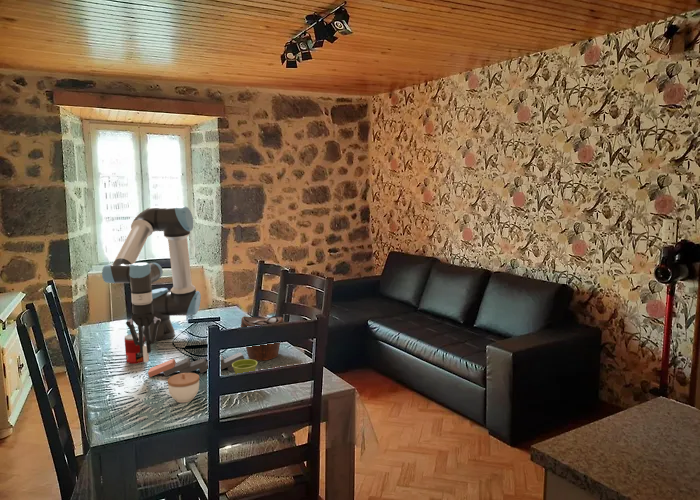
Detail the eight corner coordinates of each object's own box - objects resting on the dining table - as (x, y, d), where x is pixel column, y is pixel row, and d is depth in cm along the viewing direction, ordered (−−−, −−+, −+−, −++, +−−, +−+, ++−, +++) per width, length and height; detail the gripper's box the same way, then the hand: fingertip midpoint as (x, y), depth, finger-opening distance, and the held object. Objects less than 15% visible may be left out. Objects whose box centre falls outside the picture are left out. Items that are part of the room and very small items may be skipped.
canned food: (139, 364, 222) (137, 339, 220) (122, 363, 223) (120, 338, 222) (149, 358, 229) (148, 333, 228) (133, 357, 231) (131, 332, 229)
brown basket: (295, 354, 232) (293, 314, 230) (258, 366, 218) (256, 324, 215) (269, 346, 244) (267, 308, 242) (233, 357, 230) (230, 317, 227)
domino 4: (198, 365, 215) (222, 355, 218) (200, 369, 215) (223, 359, 218) (198, 368, 210) (223, 359, 213) (200, 373, 211) (224, 363, 213)
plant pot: (236, 392, 192) (235, 369, 191) (230, 383, 201) (229, 361, 199) (261, 387, 197) (260, 365, 195) (254, 379, 205) (253, 357, 204)
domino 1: (150, 368, 212) (174, 358, 213) (152, 372, 213) (176, 362, 214) (147, 372, 207) (172, 362, 208) (149, 377, 208) (174, 367, 209)
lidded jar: (170, 407, 181) (168, 381, 179) (167, 395, 190) (165, 371, 189) (202, 402, 185) (201, 376, 183) (198, 390, 194) (196, 366, 193)
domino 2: (165, 367, 213) (188, 357, 214) (167, 371, 214) (190, 361, 215) (163, 371, 208) (187, 361, 209) (165, 376, 209) (189, 366, 210)
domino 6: (228, 363, 218) (253, 361, 220) (228, 367, 219) (253, 366, 220) (227, 367, 213) (253, 365, 215) (228, 372, 214) (253, 370, 215)
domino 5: (217, 362, 218) (240, 351, 221) (219, 366, 218) (241, 356, 222) (219, 365, 213) (243, 354, 217) (221, 369, 213) (244, 359, 217)
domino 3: (181, 365, 214) (204, 357, 215) (182, 370, 215) (206, 362, 216) (179, 370, 209) (203, 361, 210) (180, 375, 210) (205, 366, 211)
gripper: (122, 306, 201) (126, 365, 204) (158, 304, 203) (161, 363, 207) (127, 301, 208) (131, 358, 212) (161, 299, 210) (165, 356, 214)
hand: (146, 360), depth 209 cm, fingers closed
